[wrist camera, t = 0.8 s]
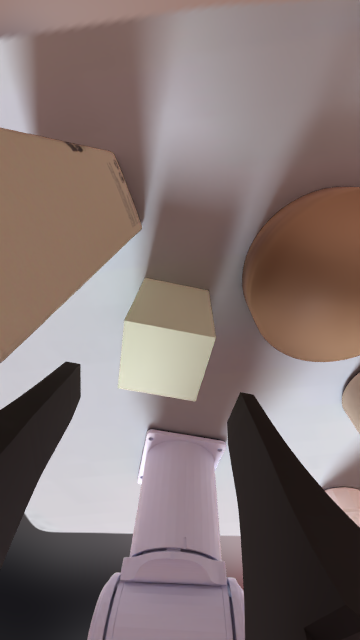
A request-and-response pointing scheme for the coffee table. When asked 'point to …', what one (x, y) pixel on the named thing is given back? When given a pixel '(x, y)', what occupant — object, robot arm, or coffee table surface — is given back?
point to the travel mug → (352, 401)
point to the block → (167, 340)
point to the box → (54, 226)
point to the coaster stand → (308, 277)
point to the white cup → (347, 501)
